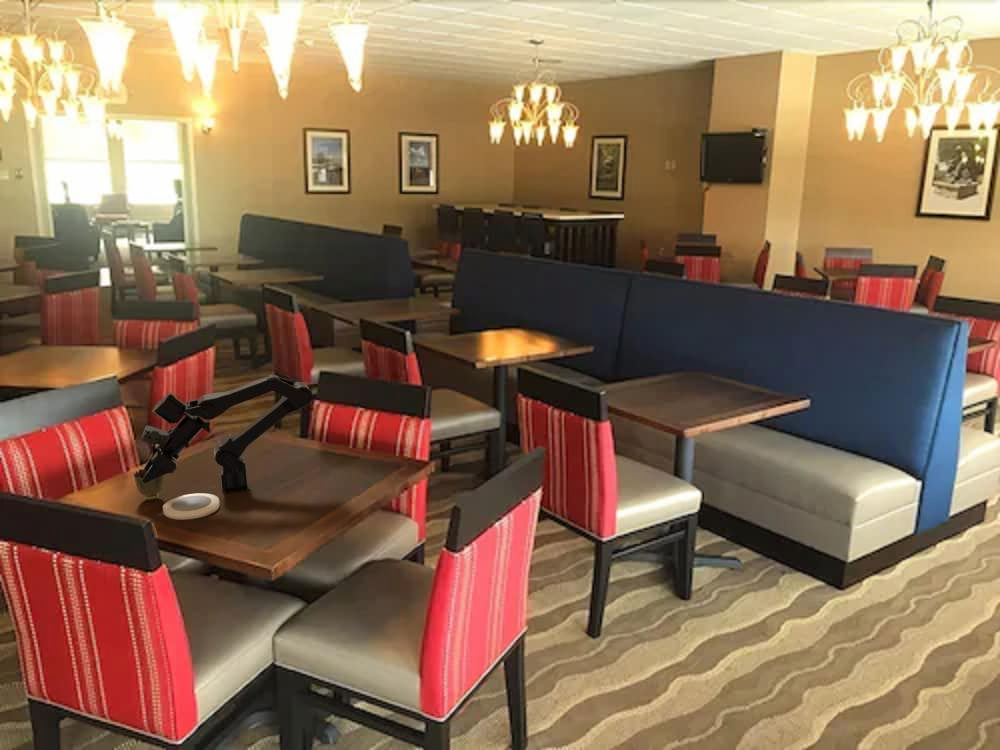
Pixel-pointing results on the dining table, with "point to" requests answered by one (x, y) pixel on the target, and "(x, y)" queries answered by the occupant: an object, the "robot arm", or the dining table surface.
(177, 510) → the hub plate
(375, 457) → the dining table surface
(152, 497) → the cup
